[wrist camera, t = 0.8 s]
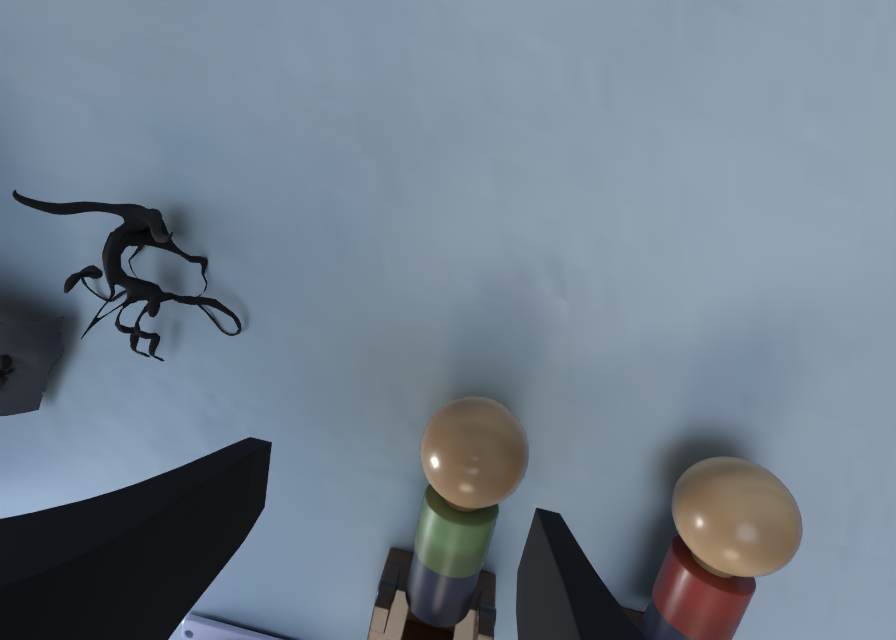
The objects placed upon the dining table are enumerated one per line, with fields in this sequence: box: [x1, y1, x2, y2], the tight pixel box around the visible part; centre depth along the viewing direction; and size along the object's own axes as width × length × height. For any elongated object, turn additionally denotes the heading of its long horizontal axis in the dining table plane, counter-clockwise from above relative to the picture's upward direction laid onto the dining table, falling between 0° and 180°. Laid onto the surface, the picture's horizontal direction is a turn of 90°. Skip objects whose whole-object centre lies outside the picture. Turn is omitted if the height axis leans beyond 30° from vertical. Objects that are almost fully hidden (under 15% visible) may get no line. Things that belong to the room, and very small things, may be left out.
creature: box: [13, 190, 241, 361], centre depth 20 cm, size 8×5×8 cm
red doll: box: [639, 456, 802, 640], centre depth 19 cm, size 10×4×4 cm, turn 168°
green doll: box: [405, 396, 529, 627], centre depth 20 cm, size 10×4×4 cm, turn 168°
